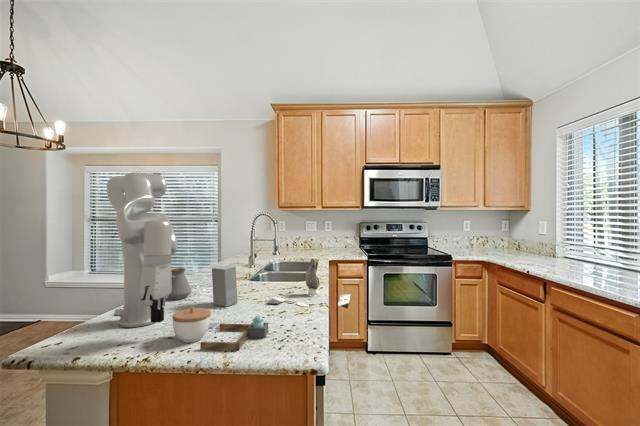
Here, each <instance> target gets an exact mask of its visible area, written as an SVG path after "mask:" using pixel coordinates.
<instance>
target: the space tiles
mask: <svg viewBox="0 0 640 426" xmlns="http://www.w3.org/2000/svg"><path fill="white" fill-rule="evenodd" d="M220 324H222V323H221V322H220V323H219V324H218V323H216V322H215V323H214V322H213V323H212V322H210V325H209V328H208V329H214V328H215V329H216V330H217V329H218V330H220Z"/></svg>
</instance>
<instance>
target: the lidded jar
mask: <svg viewBox="0 0 640 426" xmlns="http://www.w3.org/2000/svg"><path fill="white" fill-rule="evenodd" d="M211 315H212V311H211V310H210V309H209V308H204V307H194V306H191V307H189V308H186V309H181V310H178V311H176V312H174V313H173V314H172V327H173V332H174V334H175V336H176V337H177V338H178V339H179V340H180V342H182V343H189V344H190V343H196V342H198V341H201V340H202V339H203V337H204V336H205V335H206V334H207V332H208V331H209V329H210V328H209V325H210V323H211Z"/></svg>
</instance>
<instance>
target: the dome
mask: <svg viewBox="0 0 640 426" xmlns="http://www.w3.org/2000/svg"><path fill="white" fill-rule="evenodd" d="M264 321H265V319H264V318H263V316H261V315H256V316H254V317H253V320H252V322H253V327H264Z"/></svg>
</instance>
